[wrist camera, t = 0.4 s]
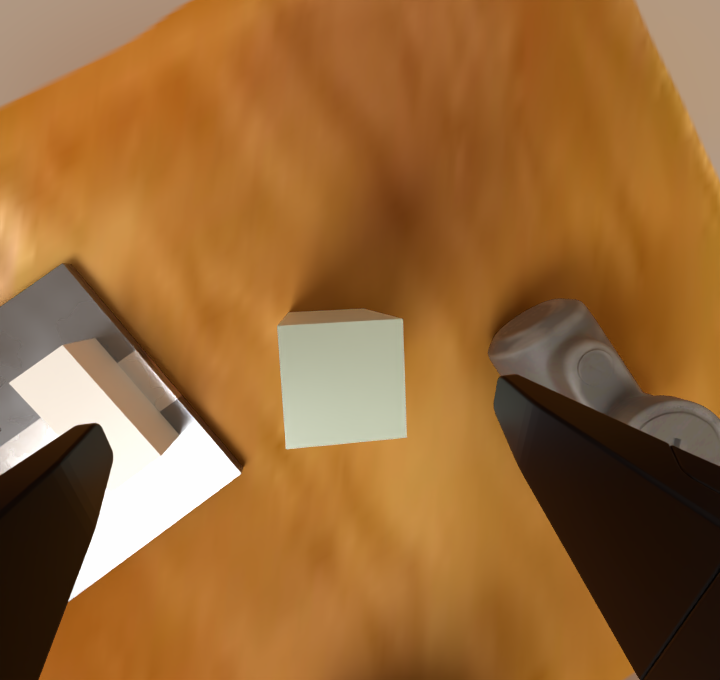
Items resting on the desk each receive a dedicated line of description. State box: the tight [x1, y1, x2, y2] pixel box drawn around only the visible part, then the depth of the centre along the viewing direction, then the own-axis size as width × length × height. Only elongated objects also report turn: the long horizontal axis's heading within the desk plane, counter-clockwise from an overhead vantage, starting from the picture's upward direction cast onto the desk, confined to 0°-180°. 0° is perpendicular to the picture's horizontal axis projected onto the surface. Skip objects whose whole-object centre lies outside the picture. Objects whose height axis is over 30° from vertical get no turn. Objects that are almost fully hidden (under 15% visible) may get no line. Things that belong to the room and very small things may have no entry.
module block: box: [277, 308, 407, 449], centre depth 19 cm, size 4×4×10 cm
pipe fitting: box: [488, 299, 720, 466], centre depth 22 cm, size 12×8×10 cm
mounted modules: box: [9, 338, 179, 493], centre depth 21 cm, size 14×7×3 cm, turn 126°
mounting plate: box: [0, 263, 243, 602], centre depth 22 cm, size 16×15×1 cm
